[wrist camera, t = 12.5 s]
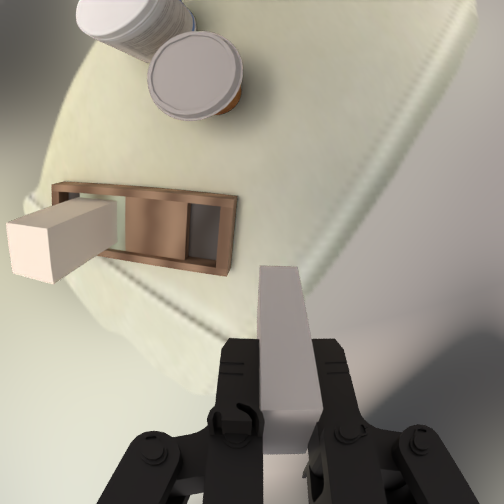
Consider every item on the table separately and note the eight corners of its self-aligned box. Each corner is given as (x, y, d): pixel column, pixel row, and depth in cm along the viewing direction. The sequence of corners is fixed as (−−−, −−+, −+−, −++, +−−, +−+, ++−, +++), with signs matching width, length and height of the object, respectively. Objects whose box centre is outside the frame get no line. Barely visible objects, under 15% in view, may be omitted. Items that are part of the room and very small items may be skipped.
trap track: (237, 196, 41) (233, 199, 38) (230, 268, 44) (226, 276, 41) (63, 181, 42) (51, 184, 40) (65, 242, 46) (54, 247, 43)
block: (117, 200, 40) (47, 228, 26) (117, 242, 42) (53, 284, 28) (78, 197, 41) (6, 222, 27) (79, 236, 43) (12, 273, 29)
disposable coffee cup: (261, 64, 35) (251, 32, 23) (244, 133, 38) (227, 127, 27) (190, 54, 35) (156, 24, 24) (174, 121, 38) (133, 113, 27)
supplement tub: (205, 8, 33) (170, -44, 19) (188, 68, 36) (141, 34, 22) (142, 7, 33) (90, -33, 19) (125, 64, 36) (63, 40, 22)
